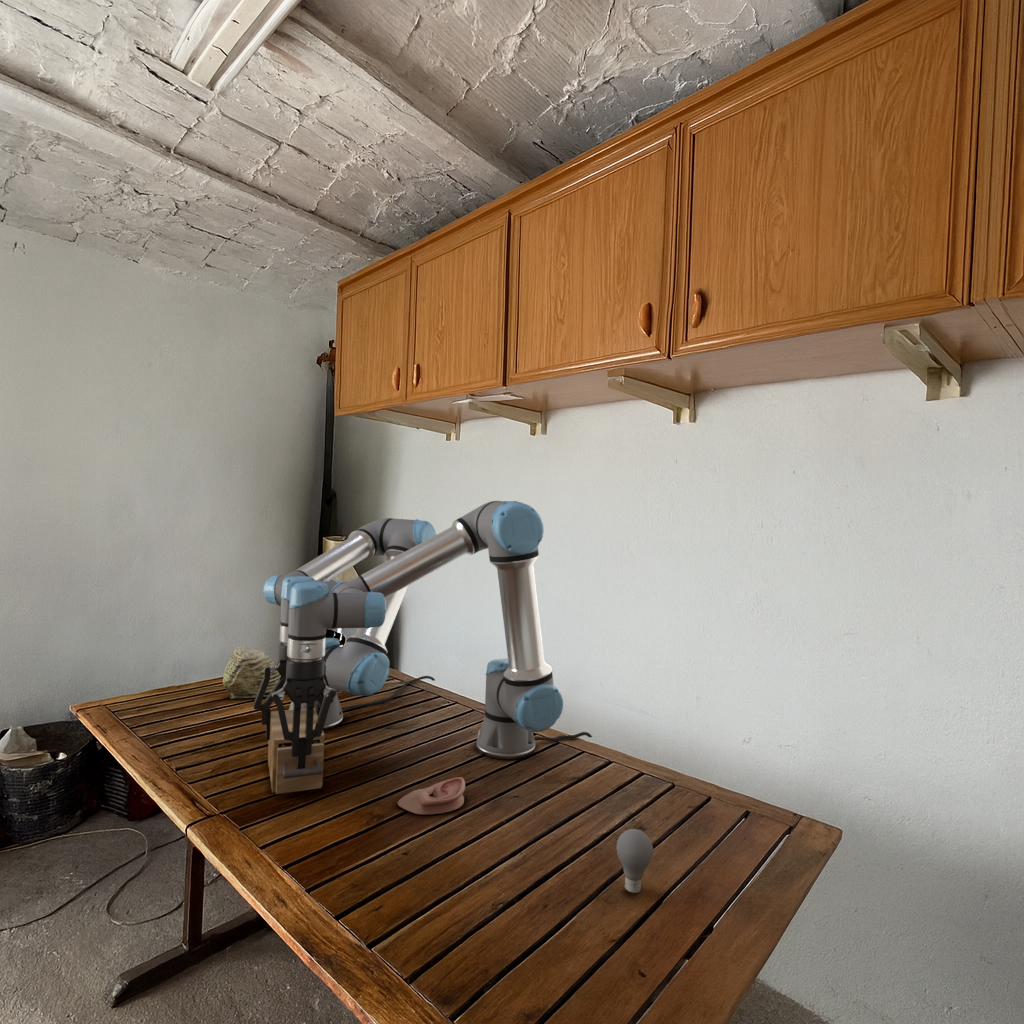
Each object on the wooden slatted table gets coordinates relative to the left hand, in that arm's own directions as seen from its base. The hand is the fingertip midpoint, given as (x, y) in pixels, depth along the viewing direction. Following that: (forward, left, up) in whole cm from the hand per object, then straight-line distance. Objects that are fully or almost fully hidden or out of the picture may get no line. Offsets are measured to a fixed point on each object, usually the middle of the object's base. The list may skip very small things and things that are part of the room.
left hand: (292, 735), depth 150 cm
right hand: (+10, +18, 0) cm, 21 cm away
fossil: (-20, -52, -6) cm, 56 cm away
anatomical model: (-9, +38, -6) cm, 40 cm away
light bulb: (-11, +84, -6) cm, 85 cm away
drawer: (+6, +11, -5) cm, 13 cm away
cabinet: (+3, +5, -6) cm, 8 cm away
